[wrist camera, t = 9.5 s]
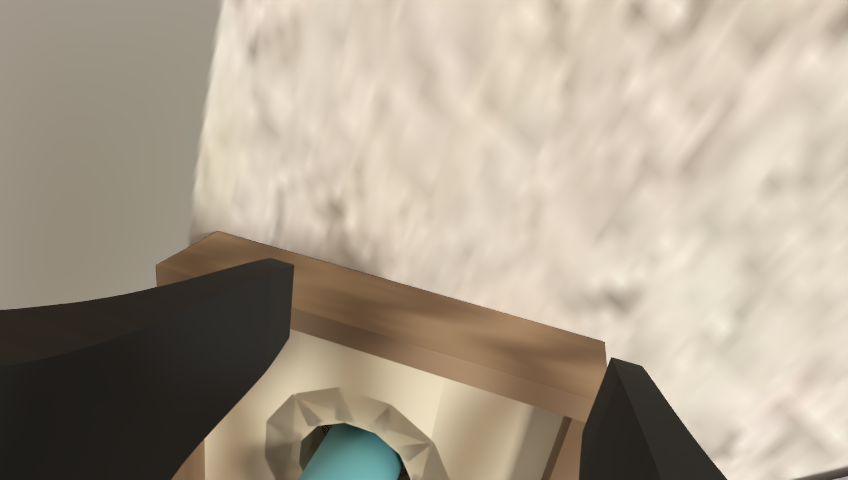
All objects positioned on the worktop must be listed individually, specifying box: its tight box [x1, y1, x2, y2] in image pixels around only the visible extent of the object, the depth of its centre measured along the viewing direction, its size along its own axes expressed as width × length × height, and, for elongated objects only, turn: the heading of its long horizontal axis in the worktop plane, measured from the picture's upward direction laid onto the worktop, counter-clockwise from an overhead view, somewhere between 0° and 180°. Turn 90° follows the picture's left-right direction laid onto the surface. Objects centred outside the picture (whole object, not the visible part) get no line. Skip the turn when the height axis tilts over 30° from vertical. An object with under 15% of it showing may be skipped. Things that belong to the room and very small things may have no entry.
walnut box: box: [156, 231, 607, 480], centre depth 25 cm, size 18×18×4 cm
